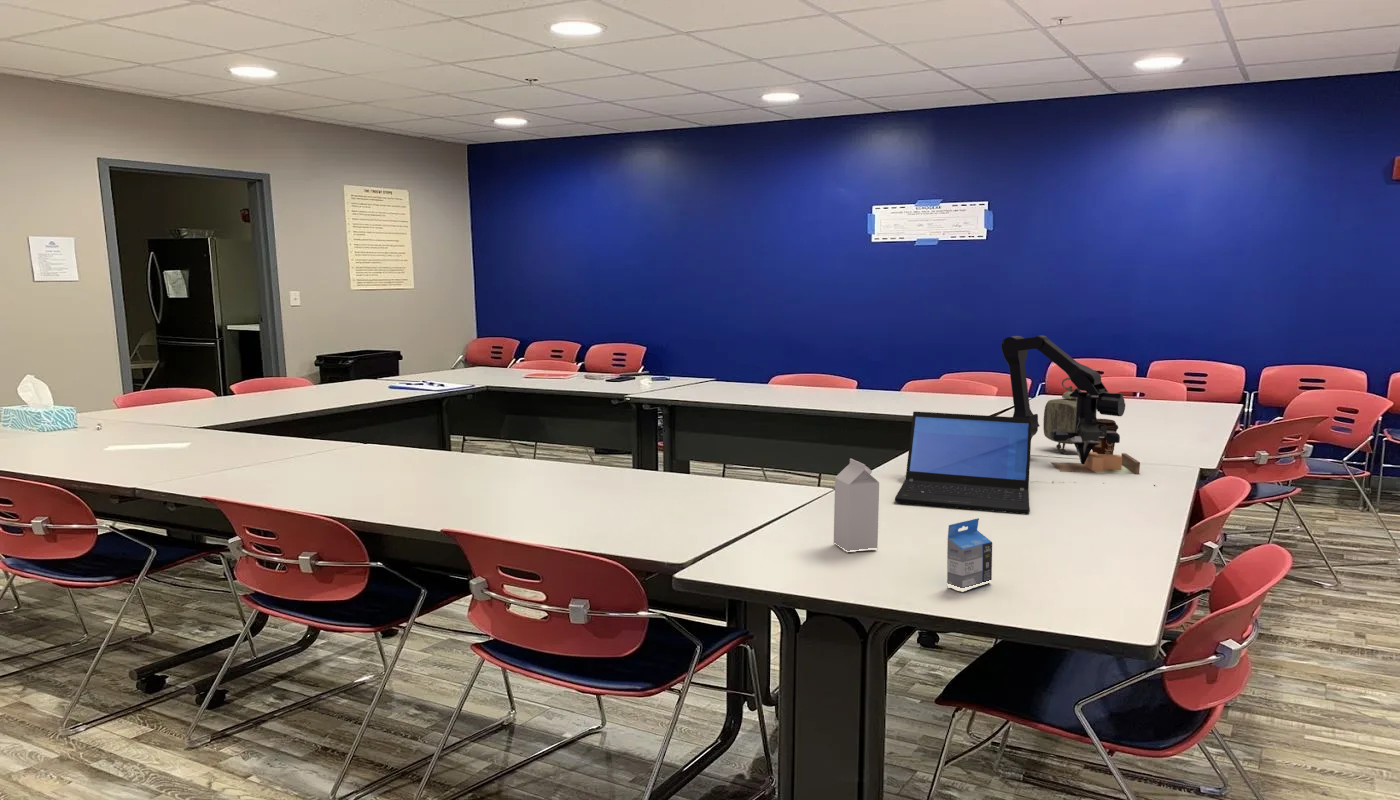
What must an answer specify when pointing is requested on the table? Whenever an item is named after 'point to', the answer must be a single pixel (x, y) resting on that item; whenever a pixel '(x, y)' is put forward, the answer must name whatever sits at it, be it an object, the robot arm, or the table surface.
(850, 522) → the milk carton
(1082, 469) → the board
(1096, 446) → the coffee cup
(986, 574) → the label tape box
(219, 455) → the table surface
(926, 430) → the laptop
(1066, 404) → the tabletop clock
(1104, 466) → the tee block
